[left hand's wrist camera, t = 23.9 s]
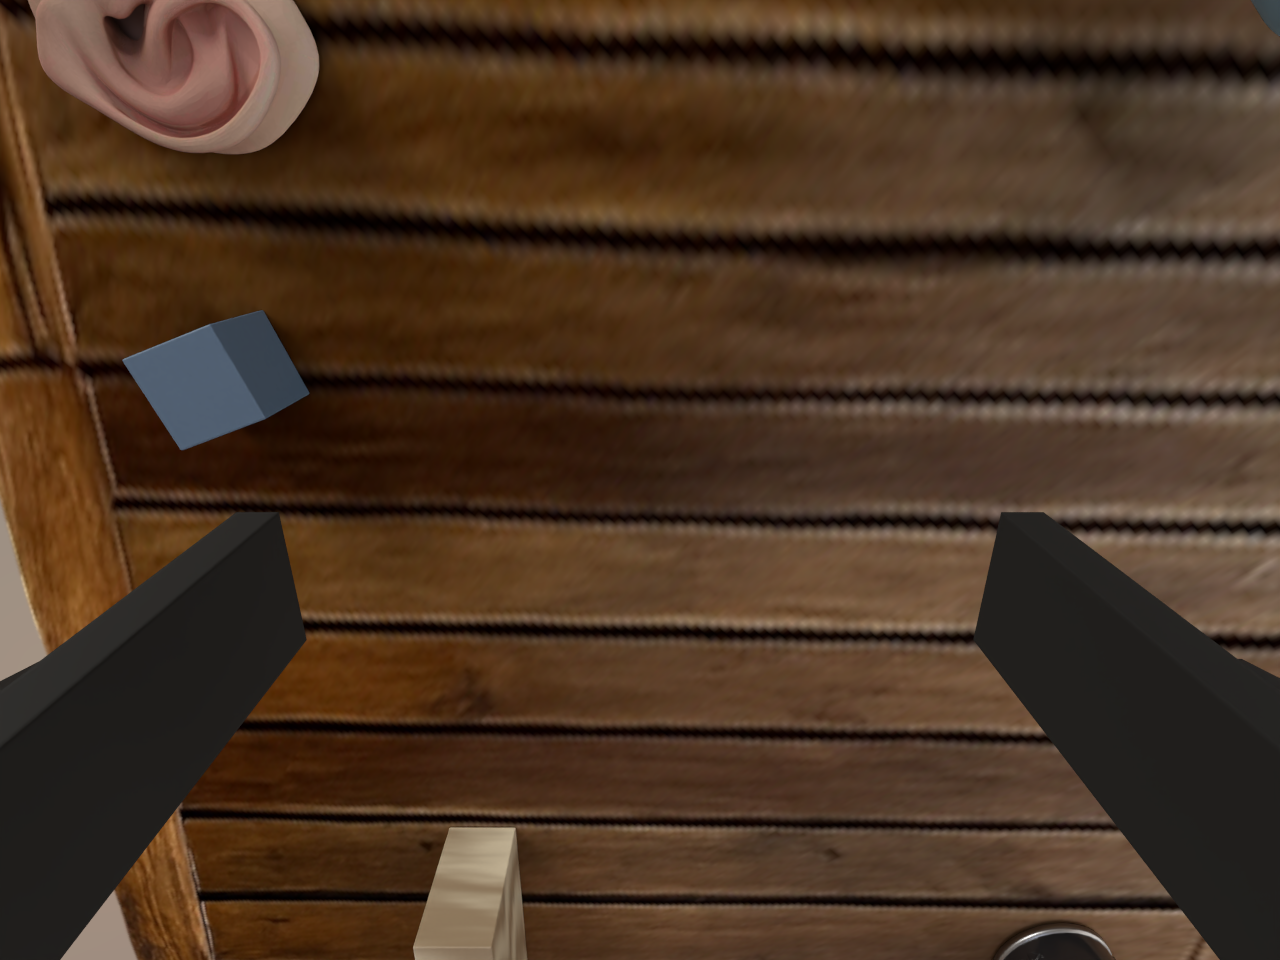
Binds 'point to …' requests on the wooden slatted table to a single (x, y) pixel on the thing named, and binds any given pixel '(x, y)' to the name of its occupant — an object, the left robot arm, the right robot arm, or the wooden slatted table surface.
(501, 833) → the ash bar
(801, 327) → the wooden slatted table surface
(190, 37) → the anatomical model
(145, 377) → the slate blue block
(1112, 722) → the left robot arm
